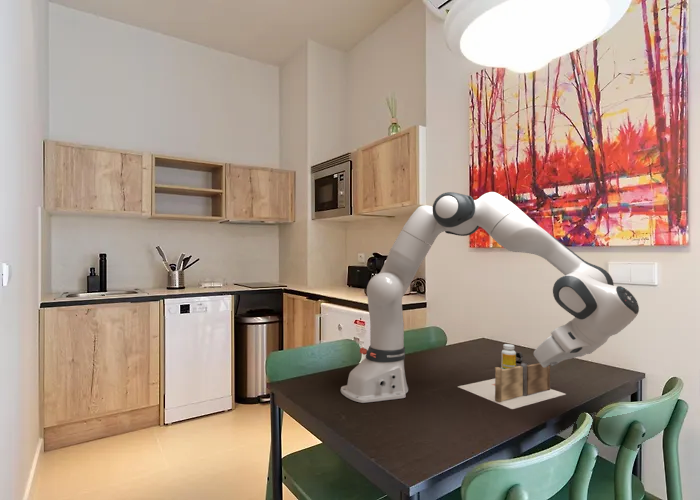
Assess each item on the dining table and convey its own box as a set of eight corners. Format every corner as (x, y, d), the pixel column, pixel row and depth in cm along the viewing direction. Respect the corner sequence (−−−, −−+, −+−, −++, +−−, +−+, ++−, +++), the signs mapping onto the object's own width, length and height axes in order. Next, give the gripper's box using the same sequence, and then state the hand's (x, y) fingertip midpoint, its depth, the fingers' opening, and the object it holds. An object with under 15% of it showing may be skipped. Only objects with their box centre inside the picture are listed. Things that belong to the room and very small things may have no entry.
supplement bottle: (499, 367, 160) (499, 343, 160) (512, 367, 161) (512, 343, 161) (504, 371, 155) (504, 346, 155) (518, 371, 155) (518, 346, 155)
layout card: (512, 410, 117) (512, 409, 117) (457, 387, 136) (457, 386, 136) (566, 395, 130) (566, 394, 130) (509, 376, 149) (509, 375, 149)
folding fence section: (498, 402, 122) (498, 368, 122) (493, 400, 123) (494, 367, 123) (523, 395, 127) (523, 363, 127) (518, 393, 129) (518, 362, 129)
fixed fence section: (524, 396, 128) (524, 364, 128) (519, 394, 129) (519, 363, 129) (551, 389, 134) (551, 359, 134) (546, 387, 136) (546, 358, 136)
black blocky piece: (534, 363, 169) (534, 352, 169) (529, 367, 163) (529, 356, 163) (503, 358, 176) (503, 347, 176) (498, 361, 171) (498, 351, 171)
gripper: (595, 322, 113) (562, 350, 121) (550, 329, 103) (516, 358, 111) (612, 342, 109) (576, 369, 117) (566, 350, 99) (531, 379, 107)
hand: (547, 364), depth 114 cm, fingers open, 2 cm apart
